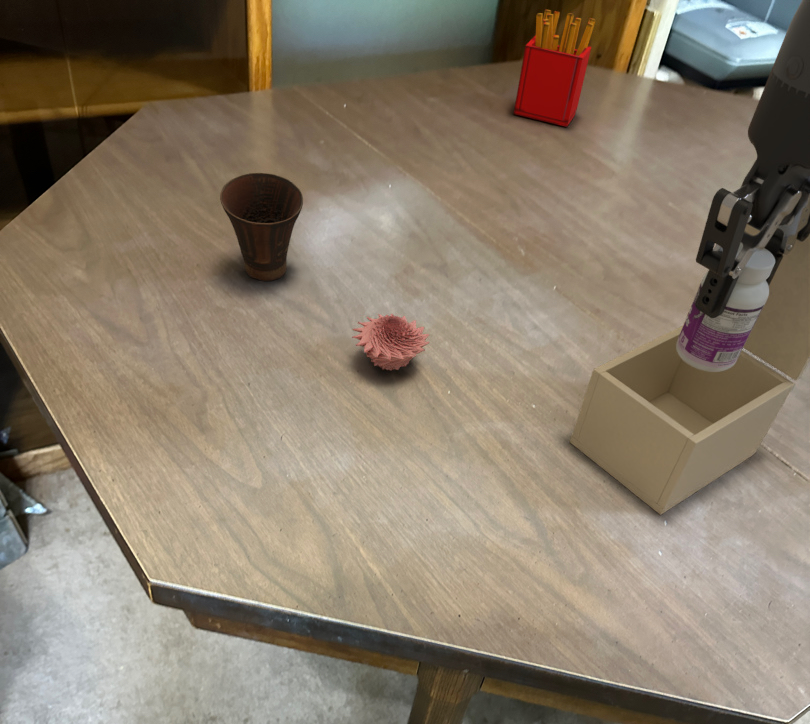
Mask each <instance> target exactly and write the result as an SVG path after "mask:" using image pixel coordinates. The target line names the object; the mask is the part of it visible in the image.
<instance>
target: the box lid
mask: <svg viewBox="0 0 810 724" xmlns="http://www.w3.org/2000/svg"><path fill="white" fill-rule="evenodd" d="M745 231H746V232H748V233H750V234H752V235H757V234H758V233H759V232H760V231H759V230H757V229H755V228H754V227H752V226H750V225H748V224H747V225H746V228H745ZM743 349H744V350H745V351H747V352H748V353H750V354H752V355H753V356H756V358H758V359H760V360H761V361H763V362H765V363H767V364H768V365H770V366H771V367H773V368H775V369H776V370H778V371H779V372H781V373H782V374H784V375H786V377H788V378H790V379H792V380H793V381H794V382H795V381H798V380H799V379H800V378H802V376H803V374H804V372H805V370H806V369H807V367H808V365H809V364H810V234H809V236H808V237H807V238H806V239H805V240H804V241H803V242H801V241H799V240H797V239H796V242H795V245H794V247H793V249H792V250H791V251H790V252H789V253H788V254H786V255H785V254H783V258H782V260H781V262H780V264H779V266H778V268H777V270H776V272H775V274H774V277H773V279H772V281H771V283H770V285H769V296H768V298H767V301H766V303H765V305H764V307H763V309H762V311H761V313H760V315H759V317H758V319H757V321H756V323H755V325H754V327H753V329H752V330H751V332H750V334H749V336H748V338H747V340H746V343H745V345H744V347H743Z"/></svg>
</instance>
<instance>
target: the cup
mask: <svg viewBox="0 0 810 724" xmlns="http://www.w3.org/2000/svg"><path fill="white" fill-rule="evenodd" d="M219 194H220V195H219V200H220V204H221V206H222V208H223V211H224V213H225V214H226V216H227V217H228V219H229V221H230V223H231V225H232V228H233V230H234V234H235V236H236V240H237V242H238V246H239V250H240V253H241V257H242V260H243V267H244V270H245V272H246V273H247V275H248V276H250V277H251V278H252V279H257V280H258V281H261V282H270V281H275V280H279V279H281V278H282V277H283V276H284V275H285V273H286V271H287V258H288V252H289V247H290V242H291V237H292V233H293V230H294V227H295V224H296V222H297V220H298V218H299V216H300V214H301V211H302V209H303V204H304V197H303V193H302V191H301V189H300V188H299V187H298V185H296V184H295V183H294V182H293V181H292V180H290V179H288V178H286V177H284V176H280V175H277V174H273V173H267V172H250V173H246V174H245V173H244V174H241V175H238V176H236V177H234V178H232V179H230V180H229V181H227V182H226V183H225V184H224V185H223V187H222V188H221V190H220V193H219Z"/></svg>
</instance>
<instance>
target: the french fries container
mask: <svg viewBox="0 0 810 724" xmlns="http://www.w3.org/2000/svg"><path fill="white" fill-rule="evenodd" d="M560 15H561V12H560V11H556V10H555V11H553V13H552V10H551V9H544V12H542V13H541V12H538V13H536V15H535V16H536V17H535V18H536V19H535V23H536V24H535V35H534V36H533V37H532V38H531V39H530V40H529V42H527V43H526V44H525V45H524V46H525V47H524V51H523V59H522V63H521V69H520V75H519V80H518V85H517V92H516V98H515V104H514V108H513V115H516V116H521V117H524V118H529V119H533V120H536V121H541V122H546V123H549V124H552V125H557V126H562V127H566V128H567V127H568V126H569V125H570V123H571V122H572V120H573V119H574V118H575V116H576V113H577V110H578V108H579V107H578V106H579V102H580V98H581V94H582V90H583V85H584V81H585V76H586V72H587V68H588V63H589V59H590V55H591V51H592V46H590V45H589V43H590V40H591V37H592V33H593V30H594V28H595V24H596V21H597V20H596V19H595V18H591V17H589V18H588V20H587V21H588V22H587V24H586V27H585V29H584V32H583V34H582V37H581V39H580V43H579V44H578V47H577V48H576V45H577V40H578V36H579V31H580V26H581V21H582V17H576V18H574V16H575V14H574V13H571V12H567V14H566V18H565V23H564V27H563V31H562V35H561V41H560V44H559V40H560V35H559V34H556V31H557V27H558V23H559V18H560ZM573 21H574V22H573Z"/></svg>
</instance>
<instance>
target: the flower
mask: <svg viewBox="0 0 810 724" xmlns="http://www.w3.org/2000/svg"><path fill="white" fill-rule="evenodd" d="M377 316H378V317H377V318H373V317H369V316H366V319H367V320H368V321H363V322H361V321H357V324H358V325H361V326H362V327H356V328H352V329H351V330H353V332H357V333H359V334H356V335H353V336H351V339H356V340H359V342H357V343H356V344H355V347H363V349H364V351H363V352H364V354H365V353H366V357H368V358H370V362H372V363H373V366H374V367H379V368H381V370H382V371H384V370H386V371H390V372H392V371H393V370H396V371H398V370H400V368H402V367H404V368H405V367H407V365H409V363H410V361H412V360H413V358H416V357H417V355H418V354H420V353H422V352H425V351H426V350H425V349H424V348H423V347H425V346H427V345H429V344H430V341H426V340H427V338H428V337H430V333H423V332H424V330H425V326H419V327H417V320H416V319H415V320H414V319H413V320H412V321H411V322H408V320H407V318H406V316H405V315H403V316H402V317H400V316H398V315H394V313H390V315H388V314H385V316H384V315H382V314H380V313H377Z"/></svg>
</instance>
